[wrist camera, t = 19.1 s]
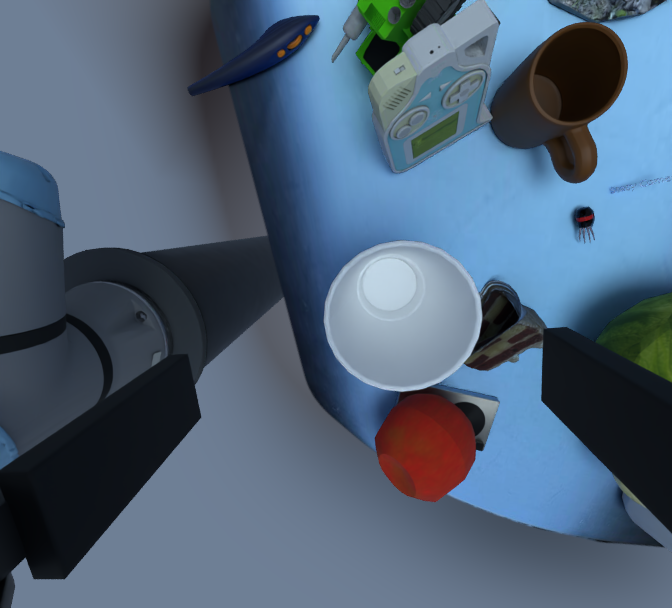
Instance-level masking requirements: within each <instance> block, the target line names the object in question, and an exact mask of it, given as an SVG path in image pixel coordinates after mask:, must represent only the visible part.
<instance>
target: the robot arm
mask: <svg viewBox="0 0 672 608" xmlns="http://www.w3.org/2000/svg"><path fill="white" fill-rule="evenodd" d="M63 228H65V224H64V222H63V220H62V219H61V211H60V203H59V193H58V186H57V184H56V181H55V180H54V178H53V177H52V175H51V174H50V173H49V172H48V171H47V170H45V169H44V168H43V167H41V166H40V165H38V164H36V163H33V162H31V161H29V160H26V159H23V158H20V157H17V156H15V155H11V154H9V153H5V152H2V151H0V608H11V604H12V599H13V594H14V590H15V584H14V579H13V576H12V574H11V571H12V570H13V569H14V568H15V567H16V566H17V565H18V564H19V563H20V562H21V561H22V560H23V559H24V558H25V557H26V559H27V562H28V565H29V568H30V570H31V573H32V575H33V578H34V579H65V578H66V577H67V576H68V575H69V574H70V572H71V571H72V570H73V569H74V568H75V566H76V565H77V564H78V563H79V562H80V561H81V559H82V558H83V557H84V556H85V555H86V553H87V552H88V551H89V550H90V548H92V546H93V545H94V544H95V542H96V541H97V540H98V539H99V538H100V537H101V536H102V534H103V533H104V532H105V531H106V530H107V529H108V527H109V526H110V525H111V524H112V522H113V521H114V520H115V519H116V518H117V517H118V515H119V514H120V513H121V512H122V511H123V509H124V508H125V507H126V506H127V505H128V504H129V502H130V501H131V500H132V499H133V497H135V495H136V494H137V493H138V492H139V491H140V489H141V488H142V487H143V486H144V485H145V483H146V482H147V481H148V480H149V479H150V478H151V476H152V475H153V474H154V473H155V472H156V470H157V469H158V468H159V467H160V466H161V464H162V463H163V462H164V461H165V460H166V458H167V457H168V456H169V455H170V454H171V453H172V451H173V450H174V449H175V448H176V447H177V446H178V444H179V443H180V442H181V441H182V440H183V438H184V437H185V436H186V435H187V434H188V432H189V431H190V430H191V429H192V428H193V426H194V425H195V424H196V423H197V422H198V421H199V419H200V418H201V413H200V409H199V404H198V399H197V394H196V389H195V385H194V380H193V375H192V370H191V365H190V361H189V356H188V354H175V355H173V337H172V332H171V328H170V326H169V323H168V321H167V319H166V317H165V315H164V313H163V312H162V310H161V309H160V307H159V306H158V305H157V304H156V302H155V301H154V300H153V299H152V298H150V297H149V296H148V295H147V294H146V293H144V292H143V291H141V290H140V289H138V288H136V287H134V286H132V285H130V284H127V283H125V282H121V281H116V280H99V281H94V282H89V283H85V284H81V285H79V286H76V287H74V288H72V289H71V290H69V291H68V292H66V293H65V281H64V255H63V254H64V253H63ZM541 401H542V402H543V403H544V404H545V405H546V406H547V407H548V408H549V409H550V410H551V411H552V412H553V413H554V414H555V415H556V416H557V417H558V418H559V419H560V420H561V421H562V422H563V423H564V424H565V425H566V426H567V427H568V428H569V429H570V430H571V431H572V432H573V433H574V434H575V435H576V436H577V437H578V438H579V439H580V440H581V441H582V442H583V444H584V445H585V446H586V447H587V448H588V449H589V450H590V451H591V452H592V453H593V454H594V455H595V456H596V457H597V458H598V459H599V460H600V461H601V462H602V463H603V464H604V465H605V466H606V467H607V468H608V469H609V470H610V471H611V472H612V473H613V474H614V475H615V476H616V477H617V478H618V479H619V480H620V481H621V482H622V483H623V484H624V485H625V486H626V487H627V488H628V489H629V490H630V492H631V493H632V494H633V495H634V496H635V497H636V498H637V499H638V500H639V501H640V502H641V503H642V504H643V505H644V506H645V507H646V508H647V509H648V510H649V511H650V512H651V513H652V514H653V515H654V516H655V517H656V518H657V519H658V520H659V521H660V522H661V523H662V524H663V525H664V526H665V527H666V528H667V529H668V530H669V531H670V532H671V533H672V382H670V381H668V380H666V379H664V378H662V377H660V376H659V375H657V374H655V373H653V372H651V371H649V370H647V369H645V368H643V367H641V366H640V365H638V364H636V363H634V362H632V361H630V360H628V359H626V358H624V357H622V356H621V355H619V354H617V353H615V352H613V351H611V350H609V349H607V348H605V347H603V346H602V345H600V344H598V343H596V342H594V341H592V340H590V339H588V338H586V337H584V336H583V335H581V334H579V333H577V332H575V331H573V330H571V329H569V328H567V327H561V328H547V329H543V360H542V395H541Z"/></svg>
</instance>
